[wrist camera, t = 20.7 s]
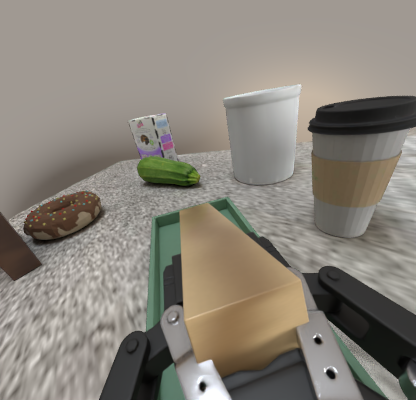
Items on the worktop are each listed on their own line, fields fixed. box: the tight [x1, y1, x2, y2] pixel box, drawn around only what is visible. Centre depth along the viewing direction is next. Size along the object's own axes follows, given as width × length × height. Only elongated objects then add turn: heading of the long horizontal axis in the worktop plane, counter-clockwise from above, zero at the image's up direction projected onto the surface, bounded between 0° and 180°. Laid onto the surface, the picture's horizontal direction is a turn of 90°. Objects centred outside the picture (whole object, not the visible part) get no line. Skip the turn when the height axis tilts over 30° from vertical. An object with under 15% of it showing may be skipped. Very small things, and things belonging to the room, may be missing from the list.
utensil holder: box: [223, 84, 301, 185], centre depth 42 cm, size 15×15×18 cm
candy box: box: [128, 114, 178, 161], centre depth 63 cm, size 14×6×16 cm, turn 51°
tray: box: [146, 197, 387, 400], centre depth 21 cm, size 27×13×3 cm, turn 13°
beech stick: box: [179, 203, 309, 390], centre depth 18 cm, size 4×22×4 cm, turn 13°
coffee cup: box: [308, 96, 416, 238], centre depth 23 cm, size 9×9×15 cm
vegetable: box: [137, 156, 200, 186], centre depth 50 cm, size 7×7×20 cm
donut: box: [23, 191, 101, 240], centre depth 40 cm, size 14×14×5 cm
